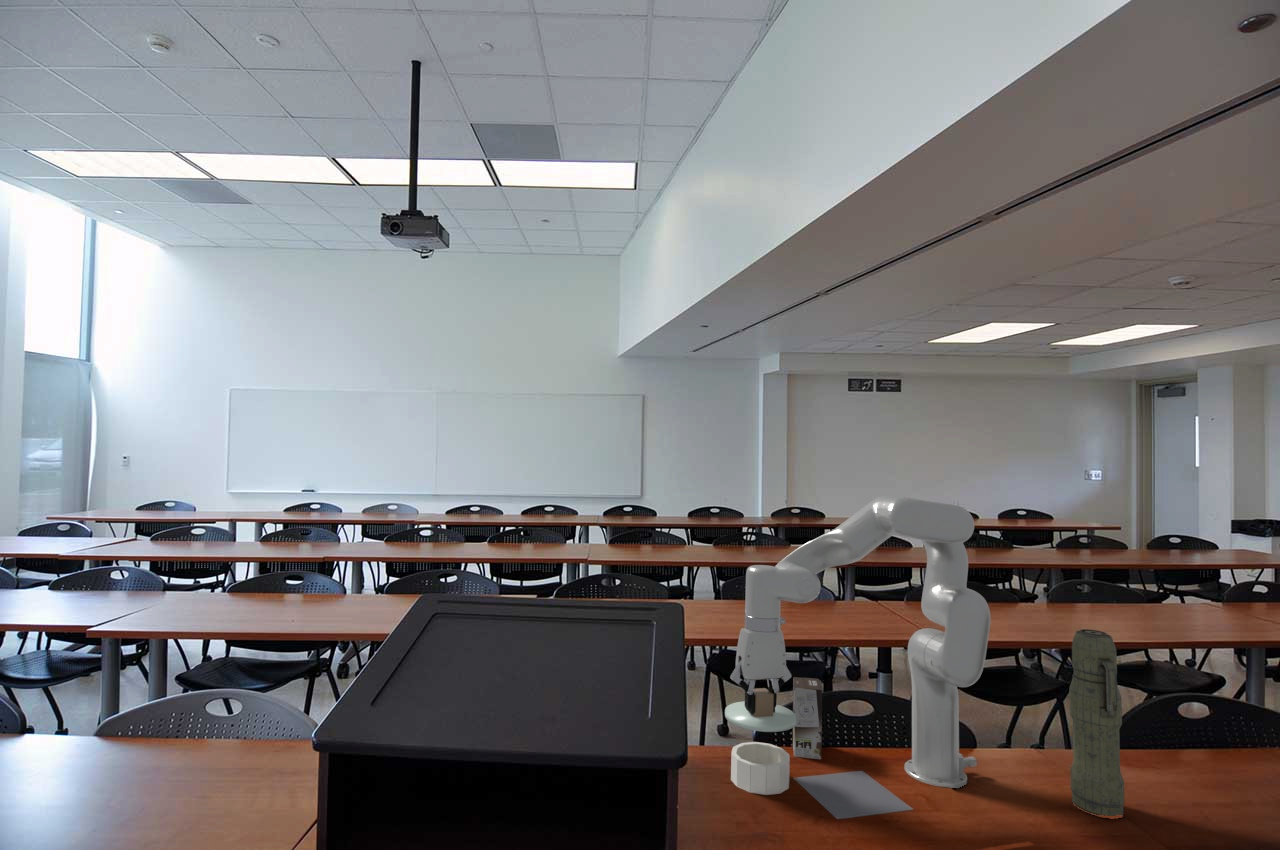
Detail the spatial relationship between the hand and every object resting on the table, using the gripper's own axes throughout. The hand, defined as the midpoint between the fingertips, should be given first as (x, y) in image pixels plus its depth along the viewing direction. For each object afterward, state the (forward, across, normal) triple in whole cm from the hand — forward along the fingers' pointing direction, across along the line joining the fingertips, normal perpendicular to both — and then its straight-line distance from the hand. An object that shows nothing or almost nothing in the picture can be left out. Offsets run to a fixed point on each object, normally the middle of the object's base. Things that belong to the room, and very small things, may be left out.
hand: (760, 710), depth 139 cm
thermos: (+15, -63, +24) cm, 69 cm away
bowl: (+15, 0, 0) cm, 15 cm away
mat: (+15, -16, +9) cm, 24 cm away
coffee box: (+15, -18, -12) cm, 27 cm away
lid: (+2, 0, 0) cm, 2 cm away
